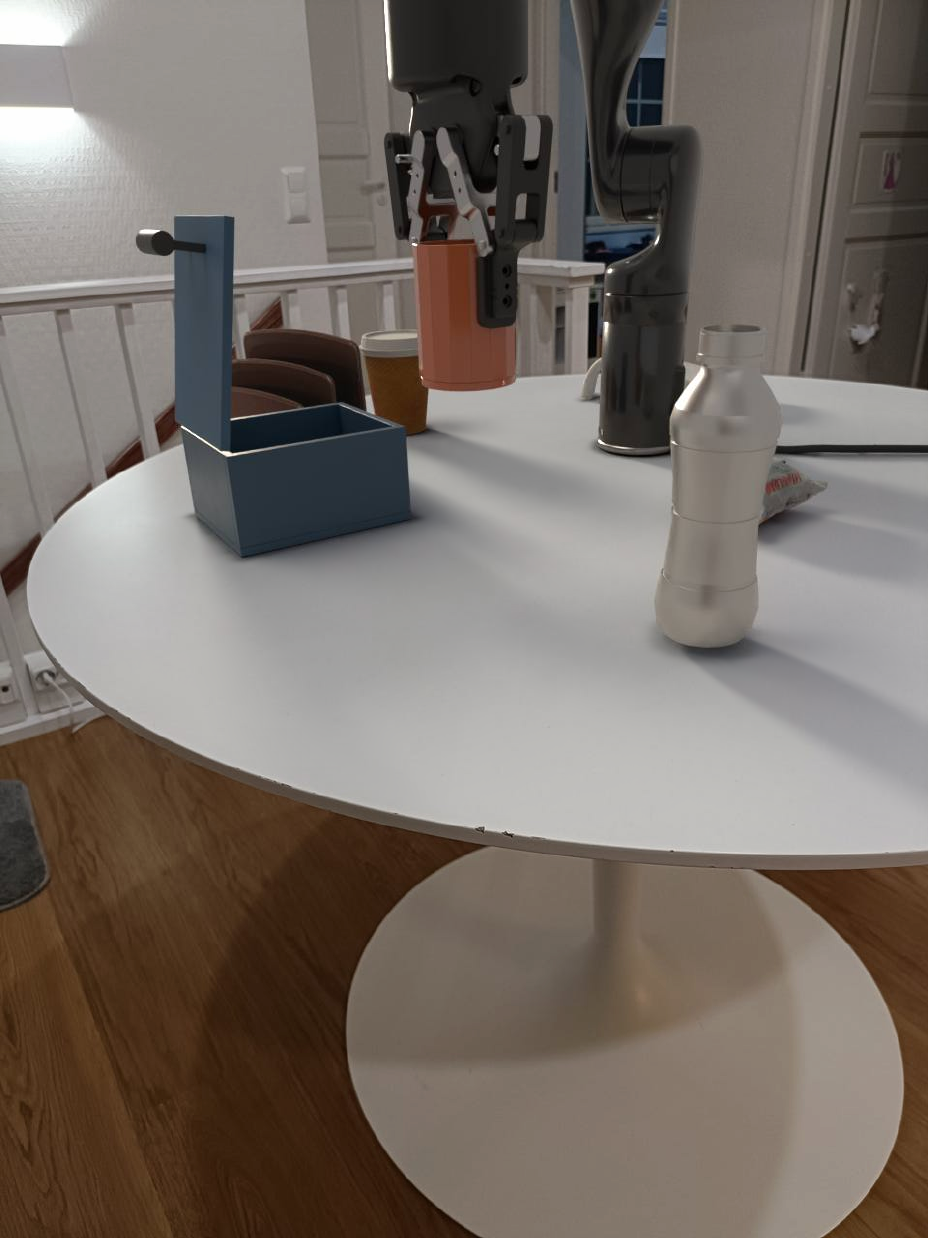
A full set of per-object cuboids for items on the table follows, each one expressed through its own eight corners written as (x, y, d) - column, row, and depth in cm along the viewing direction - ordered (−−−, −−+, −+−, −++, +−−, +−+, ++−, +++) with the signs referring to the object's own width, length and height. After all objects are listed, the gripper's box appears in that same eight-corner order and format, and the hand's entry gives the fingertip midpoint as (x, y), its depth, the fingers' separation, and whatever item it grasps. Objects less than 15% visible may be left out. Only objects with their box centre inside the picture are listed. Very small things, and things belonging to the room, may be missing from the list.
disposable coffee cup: (428, 439, 110) (423, 340, 105) (356, 437, 112) (347, 340, 107) (445, 421, 118) (441, 328, 113) (377, 420, 120) (370, 329, 115)
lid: (183, 216, 76) (122, 208, 73) (234, 216, 65) (166, 206, 63) (183, 421, 82) (127, 420, 79) (230, 451, 71) (167, 451, 69)
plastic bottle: (640, 620, 62) (659, 323, 53) (734, 614, 62) (767, 318, 54) (667, 663, 56) (693, 338, 48) (770, 656, 57) (814, 333, 48)
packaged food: (824, 511, 81) (831, 459, 79) (753, 544, 74) (759, 488, 72) (741, 493, 87) (745, 444, 85) (668, 522, 80) (671, 469, 78)
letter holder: (261, 437, 114) (246, 323, 108) (373, 459, 102) (363, 333, 96) (197, 454, 107) (177, 333, 101) (310, 480, 95) (295, 345, 89)
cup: (518, 371, 57) (518, 236, 53) (512, 391, 51) (511, 243, 48) (428, 372, 57) (421, 239, 54) (413, 392, 52) (404, 246, 49)
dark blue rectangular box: (349, 485, 93) (342, 401, 90) (411, 519, 83) (405, 426, 79) (195, 515, 86) (179, 426, 82) (241, 557, 75) (226, 456, 71)
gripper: (602, -42, 42) (591, 327, 49) (445, 10, 53) (455, 305, 60) (469, -58, 38) (479, 342, 46) (330, 2, 49) (357, 316, 57)
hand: (466, 320), depth 53 cm, fingers closed on cup, 6 cm apart
